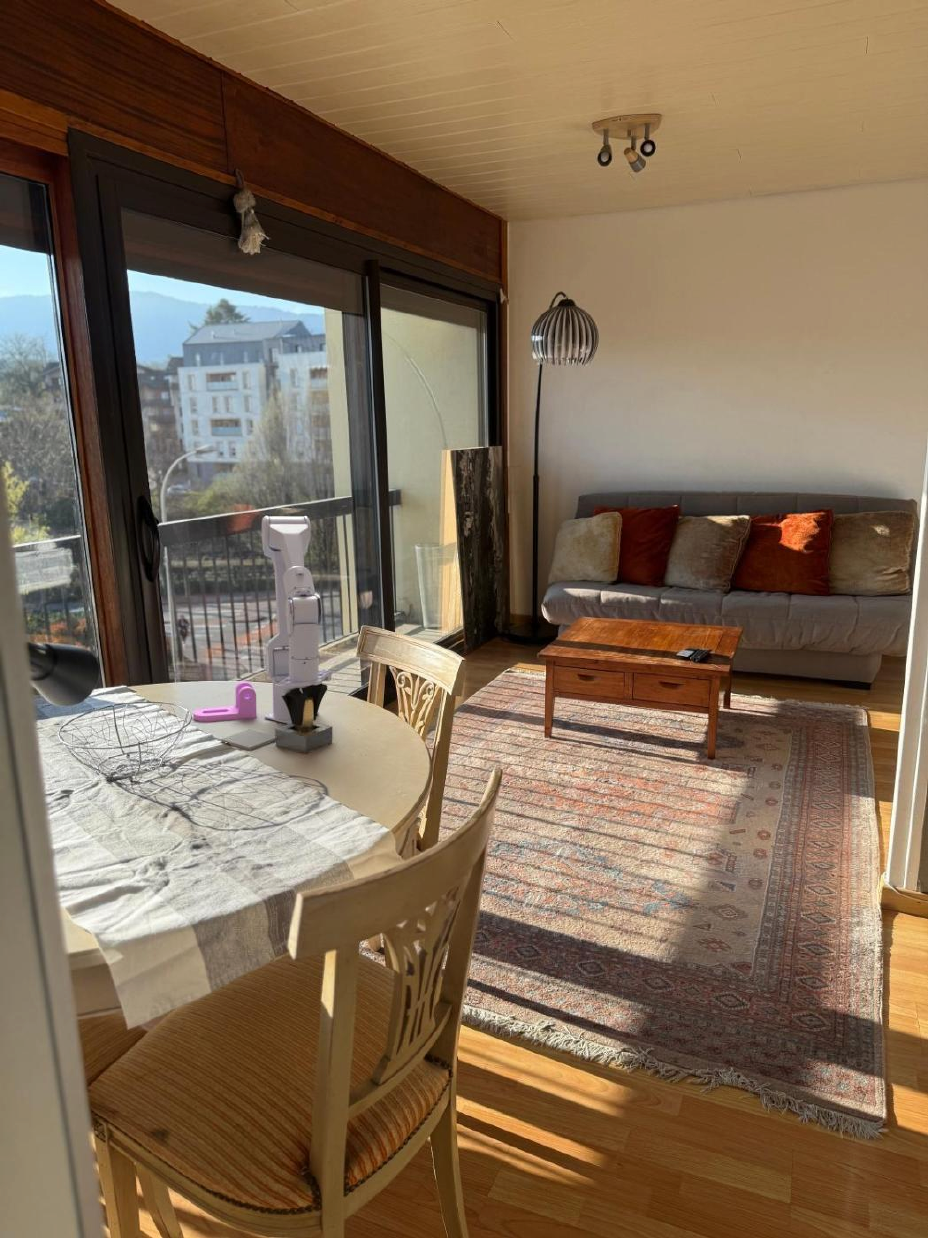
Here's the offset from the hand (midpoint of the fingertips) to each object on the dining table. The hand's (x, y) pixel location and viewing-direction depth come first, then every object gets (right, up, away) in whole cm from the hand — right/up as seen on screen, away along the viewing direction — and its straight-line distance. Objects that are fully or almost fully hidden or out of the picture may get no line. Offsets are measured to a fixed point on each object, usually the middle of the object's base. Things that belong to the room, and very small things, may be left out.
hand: (304, 722), depth 174 cm
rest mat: (-11, -4, +2) cm, 12 cm away
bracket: (-21, -1, +17) cm, 27 cm away
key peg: (0, -3, +1) cm, 3 cm away
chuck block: (0, -5, +1) cm, 5 cm away
